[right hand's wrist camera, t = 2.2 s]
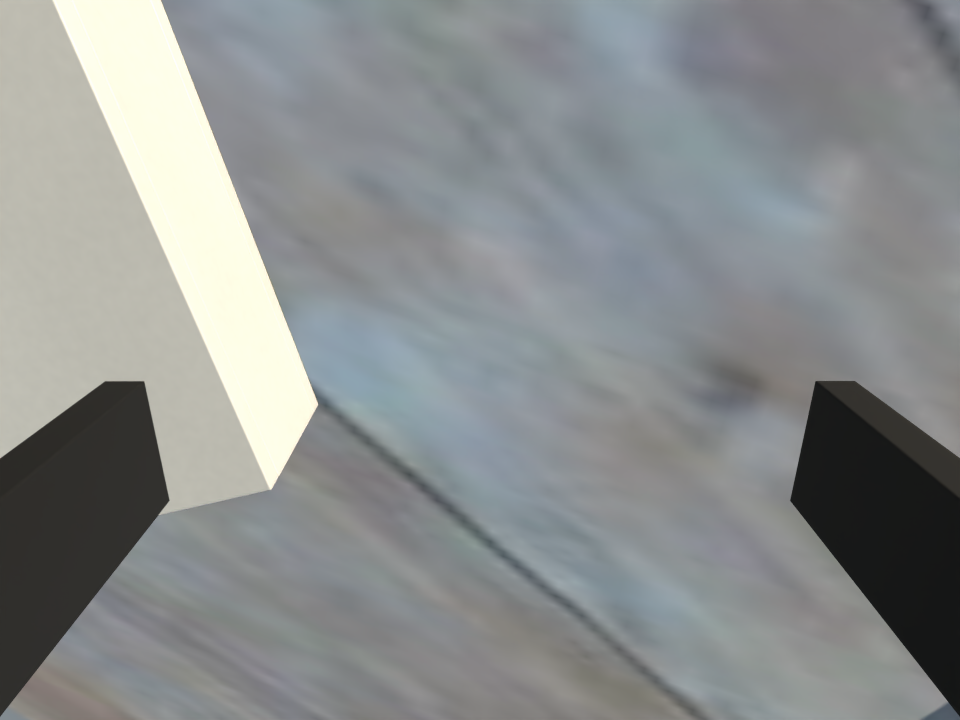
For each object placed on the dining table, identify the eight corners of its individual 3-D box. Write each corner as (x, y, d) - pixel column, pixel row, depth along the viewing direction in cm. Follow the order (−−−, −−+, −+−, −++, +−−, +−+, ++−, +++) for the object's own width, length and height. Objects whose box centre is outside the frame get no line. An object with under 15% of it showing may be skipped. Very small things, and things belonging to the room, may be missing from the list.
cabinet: (-68, 43, 28) (-278, 17, 20) (151, -26, 27) (19, -80, 19) (141, 447, 35) (45, 542, 28) (318, 404, 34) (271, 490, 27)
